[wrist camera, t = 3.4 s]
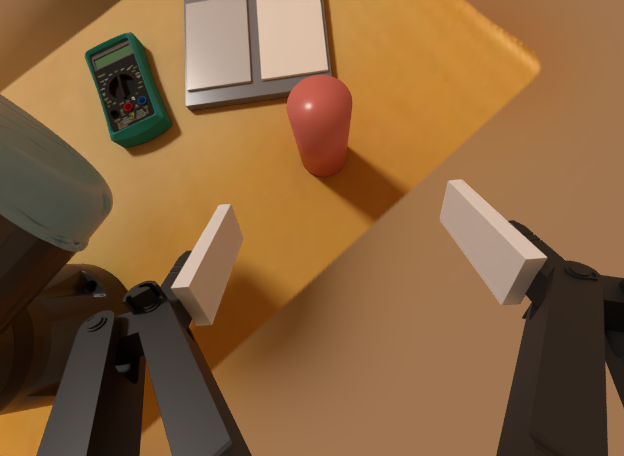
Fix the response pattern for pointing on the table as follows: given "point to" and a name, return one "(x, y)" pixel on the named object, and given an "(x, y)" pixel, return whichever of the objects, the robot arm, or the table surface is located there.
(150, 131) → the digital multimeter
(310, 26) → the board
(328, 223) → the table surface
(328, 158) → the pink domed cylinder
